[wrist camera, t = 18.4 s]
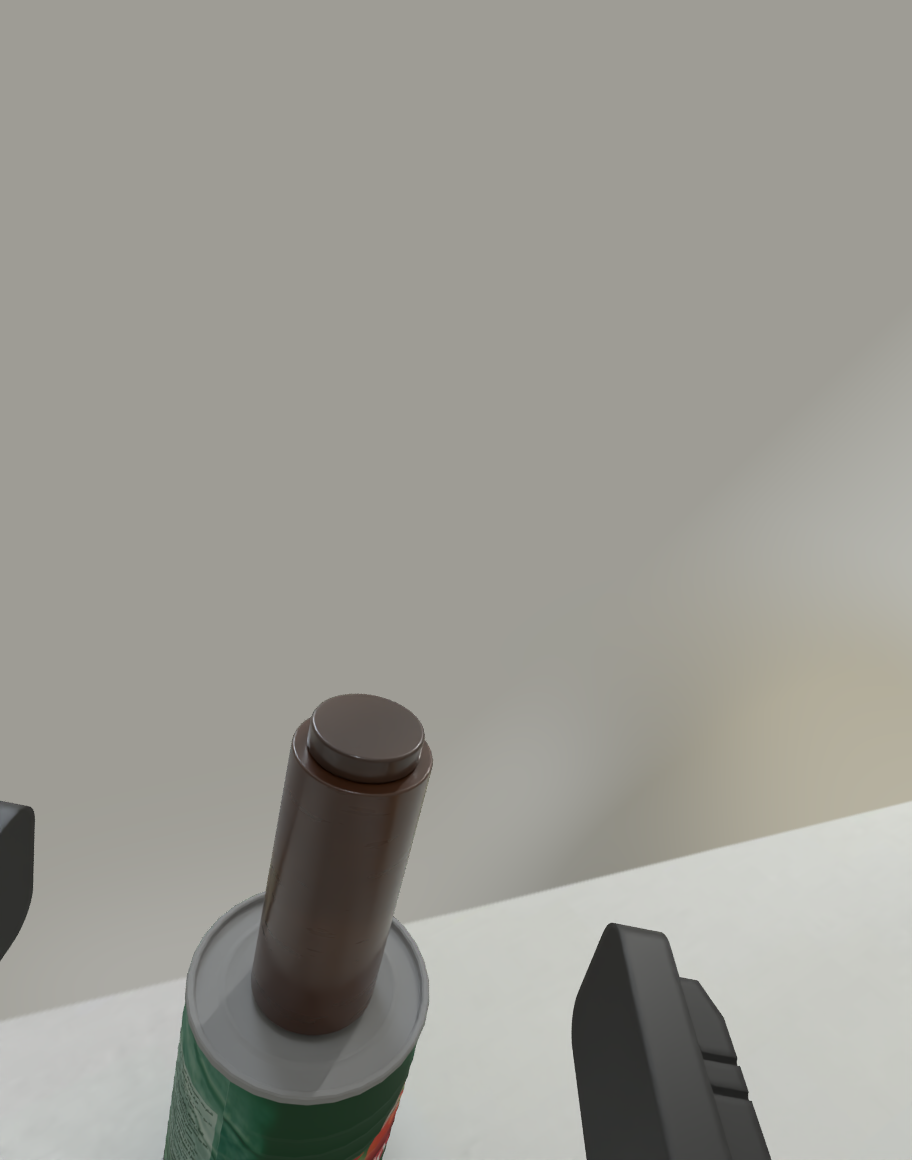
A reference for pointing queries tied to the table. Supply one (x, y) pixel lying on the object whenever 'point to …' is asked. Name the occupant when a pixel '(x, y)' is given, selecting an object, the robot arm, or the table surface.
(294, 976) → the pepper mill
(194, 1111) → the canned tomato
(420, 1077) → the table surface
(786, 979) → the table surface
